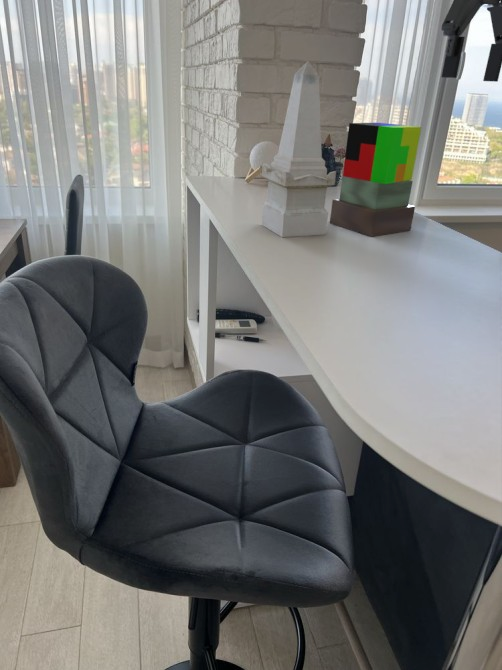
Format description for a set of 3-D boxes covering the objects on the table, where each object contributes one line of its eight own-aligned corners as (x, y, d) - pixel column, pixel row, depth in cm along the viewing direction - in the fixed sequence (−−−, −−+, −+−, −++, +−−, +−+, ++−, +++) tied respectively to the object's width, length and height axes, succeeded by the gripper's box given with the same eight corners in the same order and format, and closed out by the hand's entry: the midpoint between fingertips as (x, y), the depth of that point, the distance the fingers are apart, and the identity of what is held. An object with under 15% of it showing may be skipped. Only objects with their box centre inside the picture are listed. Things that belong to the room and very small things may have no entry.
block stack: (410, 230, 106) (420, 181, 102) (371, 236, 100) (379, 184, 95) (368, 217, 115) (375, 172, 110) (329, 223, 108) (335, 174, 104)
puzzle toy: (370, 172, 109) (377, 122, 105) (411, 179, 103) (421, 126, 98) (342, 176, 103) (349, 123, 98) (385, 184, 97) (394, 127, 92)
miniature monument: (328, 234, 99) (349, 62, 86) (280, 238, 96) (295, 58, 82) (303, 221, 108) (319, 63, 95) (259, 224, 104) (268, 59, 91)
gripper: (517, -42, 97) (489, 82, 106) (437, -69, 84) (412, 75, 93) (557, -48, 91) (523, 83, 101) (477, -78, 78) (447, 76, 88)
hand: (470, 79), depth 97 cm, fingers open, 13 cm apart
